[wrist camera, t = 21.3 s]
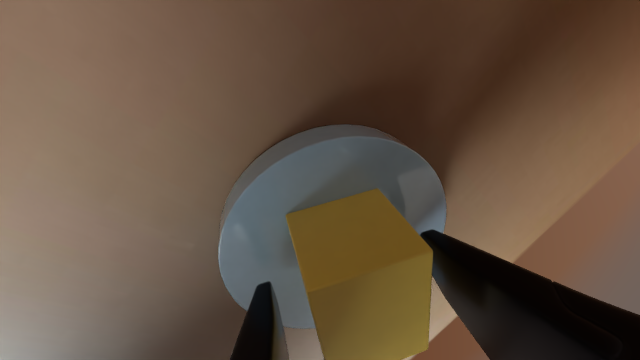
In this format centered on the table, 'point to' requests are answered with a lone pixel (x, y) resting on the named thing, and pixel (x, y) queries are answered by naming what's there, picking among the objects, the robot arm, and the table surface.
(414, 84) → the table surface
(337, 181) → the plate
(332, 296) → the butter pat
